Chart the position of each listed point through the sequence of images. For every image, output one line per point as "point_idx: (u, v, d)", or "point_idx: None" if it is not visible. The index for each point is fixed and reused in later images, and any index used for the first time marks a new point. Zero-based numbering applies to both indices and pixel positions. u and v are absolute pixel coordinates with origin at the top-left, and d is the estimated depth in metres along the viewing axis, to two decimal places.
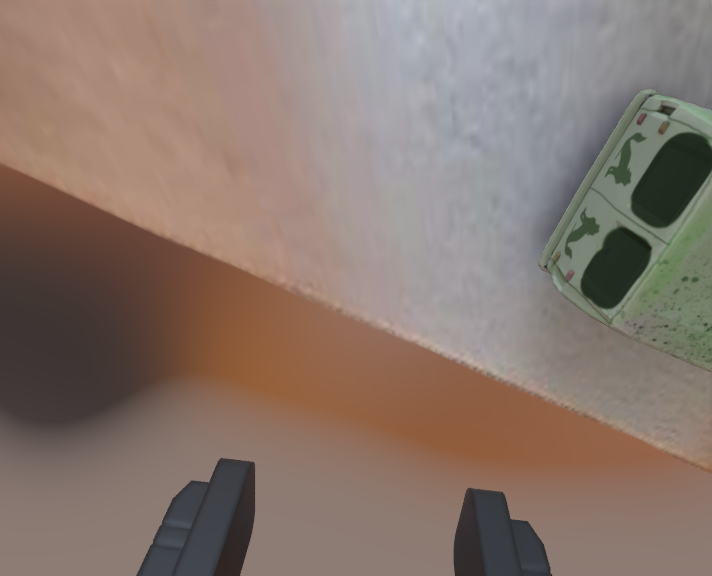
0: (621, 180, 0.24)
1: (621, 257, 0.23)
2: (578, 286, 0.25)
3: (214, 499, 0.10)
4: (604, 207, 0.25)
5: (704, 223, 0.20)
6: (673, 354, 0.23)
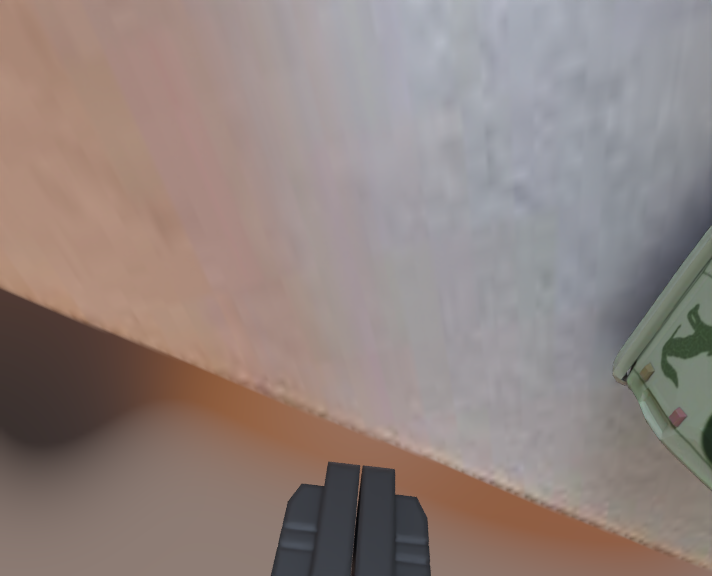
0: None
1: None
2: (697, 442, 0.15)
3: (333, 502, 0.10)
4: None
5: None
6: None
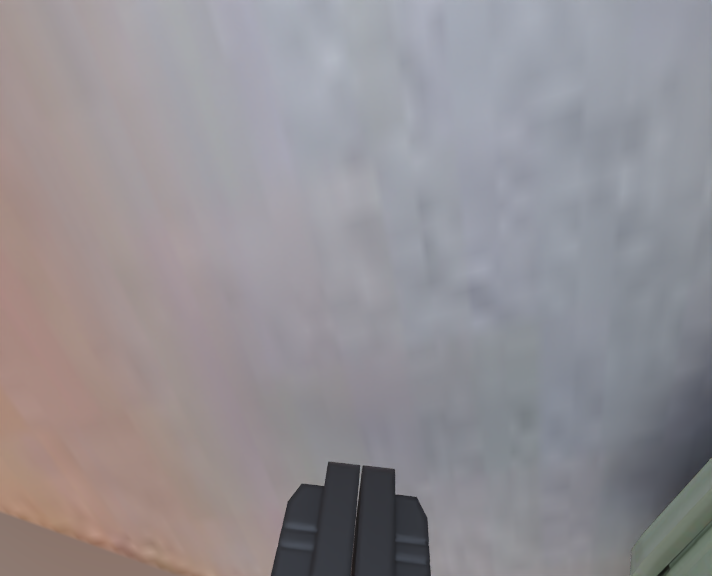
0: None
1: None
2: None
3: (333, 502, 0.10)
4: None
5: None
6: None
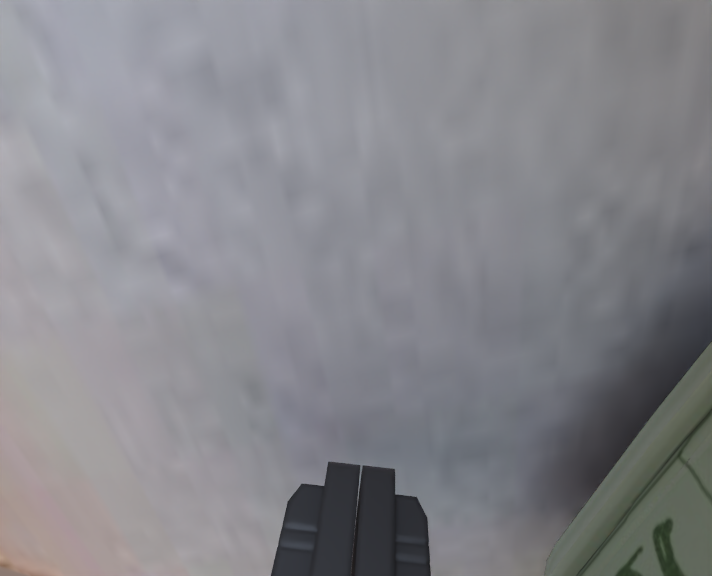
0: None
1: None
2: None
3: (333, 502, 0.10)
4: None
5: None
6: None
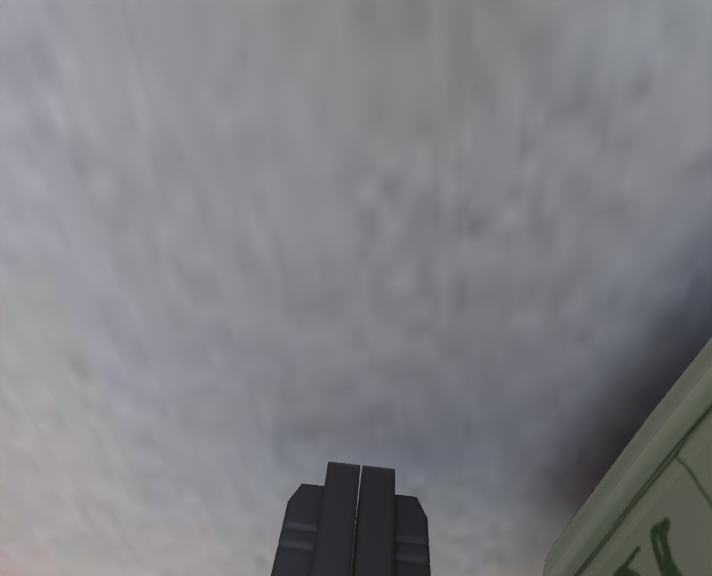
0: None
1: None
2: None
3: (333, 502, 0.10)
4: None
5: None
6: None
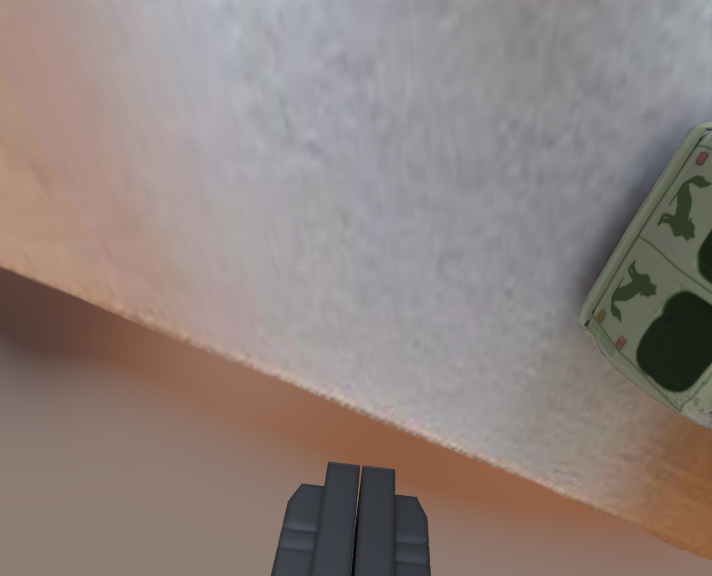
0: (681, 232, 0.20)
1: (690, 330, 0.19)
2: (633, 358, 0.21)
3: (333, 502, 0.10)
4: (661, 264, 0.21)
5: None
6: None
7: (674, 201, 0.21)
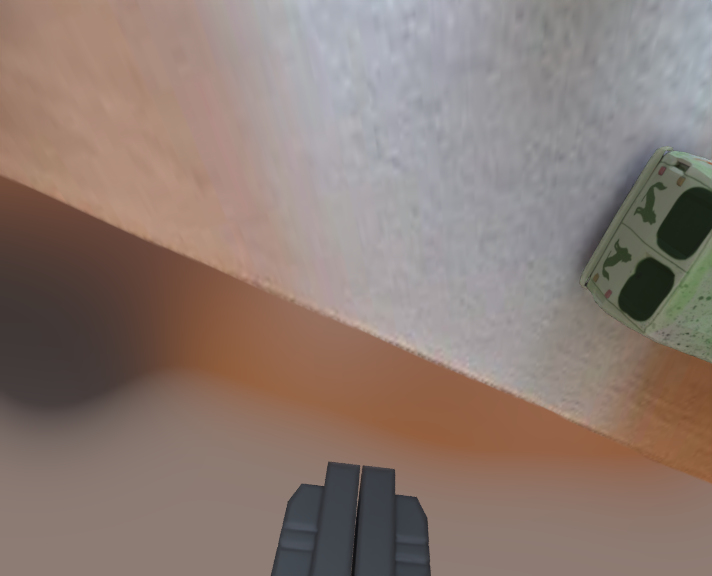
0: (647, 219, 0.31)
1: (651, 281, 0.30)
2: (616, 302, 0.32)
3: (333, 502, 0.10)
4: (635, 240, 0.31)
5: None
6: (693, 354, 0.30)
7: (644, 199, 0.32)
